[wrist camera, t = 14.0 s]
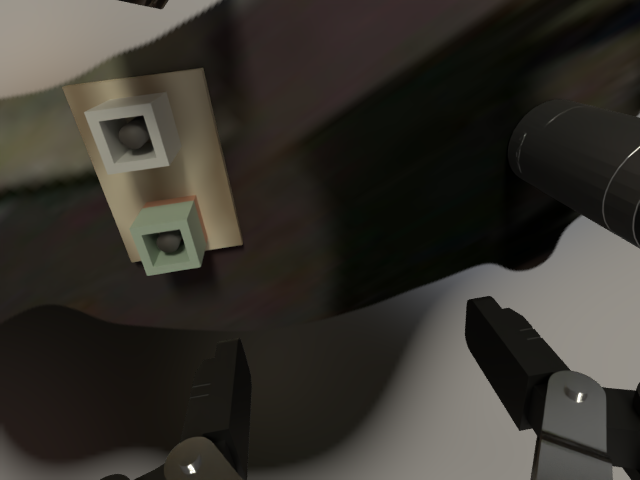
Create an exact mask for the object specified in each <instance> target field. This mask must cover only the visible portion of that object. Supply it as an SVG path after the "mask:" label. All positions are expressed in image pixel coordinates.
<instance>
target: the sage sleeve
mask: <svg viewBox="0 0 640 480" xmlns="http://www.w3.org/2000/svg"><path fill="white" fill-rule="evenodd" d="M129 229H130V232H131V235H132V237H133V240H134V242H135V245H136V248H137V250H138V253H139V255H140V258H141V261H142V263H143V266H144V269H145V271H146V274H147V276H149V275H155V274H162V273H168V272H174V271H180V270H186V269H192V268H198V267H201V264H202V260H203V256H204V252H205V248H206V244H207V240H208V236H207V233H206V229H205V226H204V222H203V218H202V215H201V211H200V208H199V204H198V201H197V197H196V195H192V196H185V197H179V198H172V199H165V200H159V201H152V202H146V203H145V205H144V207H143V208H142V210H141V211H140V213H139V214H138V216H137V217H136V219H135V221H134V222H133V224H132V225H131V227H130V228H129ZM178 229H180V231H181V234H182V239H181V242H180V244H179V247H178V249H177V250H176V251H174V252H172V253H166V252H163V251H161V250H160V249H159V248H158V246H157V239H158V237H159V234H160V232H165V231H172V230H178Z"/></svg>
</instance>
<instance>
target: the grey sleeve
mask: <svg viewBox="0 0 640 480" xmlns="http://www.w3.org/2000/svg"><path fill="white" fill-rule="evenodd" d="M84 114H85V117H86V119H87V122H88V124H89V127H90V130H91V132H92V135H93V137H94V140H95V143H96V145H97V148H98V150H99V153H100V156H101V158H102V161H103V164H104V166H105V169H106V171H107V174H108V175H110V174H117V173H123V172H130V171H137V170H144V169H151V168H158V167H164V166H170V164H171V163H172V161H173V160H174V158H175V156H176V155H177V153H178V152H179V150H180V149H181V147H182V146H181V142H180V139H179V135H178V131H177V128H176V124H175V121H174V117H173V114H172V110H171V106H170V103H169V99H168V96H167V92H162V93H155V94H147V95H140V96H132V97H125V98H117V99H110V100H108V101H106V102H104V103H102V104H100V105H98V106H95V107H93V108H91V109H89V110H87V111H85V112H84ZM142 115H143V116H144V119H145V122H146V125H147V128H148V132H149V135H150V138H151V141H152V142H150V143H145V144H144V145H143V146H142V147H141V148H138V149H130V148H127V147H126V146H124V145H123V144H122V143H121V141H120V139H119V131H120V129H121V128H122V127H123V126H124V125H126V124H127V121H126V118H127V117H135V116H142Z"/></svg>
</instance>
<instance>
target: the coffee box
mask: <svg viewBox="0 0 640 480" xmlns="http://www.w3.org/2000/svg"><path fill="white" fill-rule="evenodd" d="M119 1H124V2H129V3H134V4H138V5H144V6H149V7H153V8H158V9H163V8H164V6H165V5H166V3H167V2H168V0H119Z"/></svg>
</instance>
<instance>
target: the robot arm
mask: <svg viewBox="0 0 640 480" xmlns="http://www.w3.org/2000/svg"><path fill="white" fill-rule="evenodd" d="M508 160H509V165H510V167H511V169H512V171H513V172H514V173H515V174H516V175H517V176H518V177H519V178H521V179H522V180H524V181H526V182H527V183H529V184H531V185H533V186H534V187H536V188H538V189H539V190H541V191H542V192H544V193H546V194H547V195H549V196H551V197H553V198H554V199H556V200H558V201H559V202H561V203H563V204H564V205H566V206H568V207H570V208H571V209H573V210H575V211H576V212H578V213H580V214H582V215H583V216H585V217H587V218H588V219H590V220H592V221H593V222H595V223H597V224H599V225H600V226H602V227H604V228H605V229H607V230H609V231H611V232H612V233H614V234H616V235H618V236H620V237H621V238H623V239H625V240H626V241H628V242H630V243H631V244H633V245H635V246H636V247H638V248H640V118H638V117H634V116H630V115H626V114H622V113H618V112H614V111H610V110H605V109H601V108H597V107H594V106H590V105H586V104H582V103H577V102H573V101H569V100H562V99H558V100H551V101H548V102H545V103H542V104H540V105H539V106H537V107H535V108H534V109H532V110H531V111H530V112H529V113H527V114H526V115H525V116H524V117H523V119H522V120H521V121H520V122H519V123H518V125H517V127H516V128H515V130H514V131H513V134H512V136H511V139H510V142H509V147H508ZM465 338H466V342H467V345H468V348H469V350H470V352H471V353H472V355H473V357H474V358H475V360H476V362H477V363H478V365H479V366H480V368H481V370H482V371H483V373H484V374H485V376H486V378H487V379H488V381H489V382H490V384H491V386H492V387H493V389H494V390H495V392H496V393H497V395H498V397H499V399H500V400H501V402H502V403H503V405H504V407H505V408H506V410H507V411H508V413H509V415H510V416H511V418H512V420H513V421H514V423H515V424H516V426H517V427H518V429H519V431H521V430H526V429H531V428H533V430H534V431H535V433H536V435H537V440H536V446H535V453H534V460H533V467H532V473H531V480H613V477H612V466H616V467H622V468H623V469H624V470H625V472H626V473H627V475H628V476H629V477H630V479H631V480H640V383H639V384H638V386H637V389H636V391H633V390H623V389H612V388H604V387H601V386H600V385H599V384H598V383H597V382H596V381H595V380H593V379H592V378H590V377H588V376H586V375H584V374H582V373H579V372H574V371H571V370H570V369H569V368H568V367H567V366H566V365H565V364H564V362H563V361H562V360H561V359H560V358H559V357H558V356H557V354H556V353H555V352H554V351H553V350H552V349H551V347H550V346H549V345H548V344H547V343H546V342H545V341H544V340H543V338H541V337H540V335H539V334H538V333H537V332H536V330H535V329H533V328H532V326H531V325H530V324H529V323H528V321H527V320H526V319H525V318H524V317H523V316H522V315H520V314H518V313H517V312H515V311H513V310H512V309H510V308H505V309H502V308H501V307H500V306H499V305H498V303H497V302H496V301H495V300H494V299H493V298H492V297H491V296H487V297H481V298H475V299H469V300H468V301H467V308H466V324H465ZM251 383H252V382H251V374H250V369H249V366H248V362H247V359H246V355H245V352H244V348H243V345H242V342H241V339H240V338H238V339H232V340H226V341H220V342H218V343H217V348H216V353H215V358H212V359H206V360H204V361H203V362H202V364H201V365H200V367H199V368H198V369H197V371H196V372H195V377H194V382H193V388H192V391H191V395H190V400H189V405H188V410H187V414H186V419H185V423H184V428H183V432H182V437H181V441H180V444H178V445H177V446H176V447H175V448H174V449H173V450H172V451H171V452H170V454H169V455H168V457H167V459H166V461H165V463H164V464H163V465H161V466H160V467H158V468H157V469H155V470H153V471H151V472H149V473H147V474H145V475H143V476H141V477H139V478H137V479H135V480H247V470H248V469H247V468H248V451H249V432H250V412H251V392H252V384H251ZM100 480H130V479H129V478H128V477H127V476H124V475H121V474H114V475H110V476H107V477H104V478H102V479H100Z"/></svg>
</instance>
